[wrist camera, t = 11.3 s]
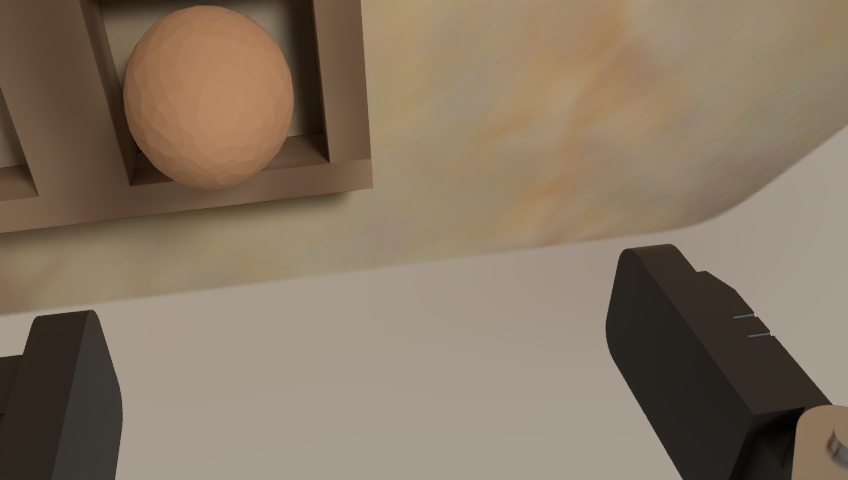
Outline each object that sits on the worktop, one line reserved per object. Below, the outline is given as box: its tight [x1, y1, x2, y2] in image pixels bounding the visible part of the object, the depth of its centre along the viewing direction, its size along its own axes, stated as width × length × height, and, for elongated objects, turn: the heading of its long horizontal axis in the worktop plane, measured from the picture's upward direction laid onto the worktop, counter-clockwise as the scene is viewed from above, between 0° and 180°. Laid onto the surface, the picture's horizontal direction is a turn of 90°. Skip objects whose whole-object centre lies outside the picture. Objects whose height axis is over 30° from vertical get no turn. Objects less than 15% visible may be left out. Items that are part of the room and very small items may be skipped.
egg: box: [123, 6, 294, 190], centre depth 24 cm, size 5×5×8 cm
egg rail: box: [0, 0, 373, 233], centre depth 26 cm, size 20×10×2 cm, turn 91°
